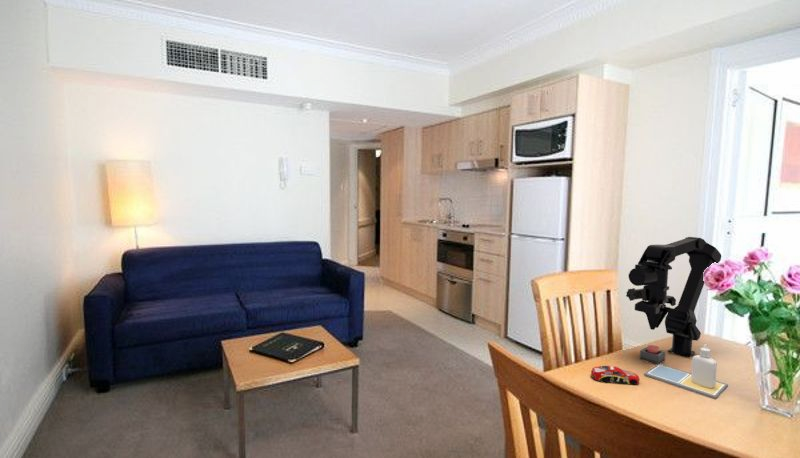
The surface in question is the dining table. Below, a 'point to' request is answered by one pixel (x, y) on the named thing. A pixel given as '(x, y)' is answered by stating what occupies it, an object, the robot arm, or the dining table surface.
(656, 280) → the robot arm
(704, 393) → the grey flat rectangular board
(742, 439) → the dining table surface
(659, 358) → the button housing
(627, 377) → the race car
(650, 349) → the button
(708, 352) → the eye dropper bottle
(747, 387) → the dining table surface
